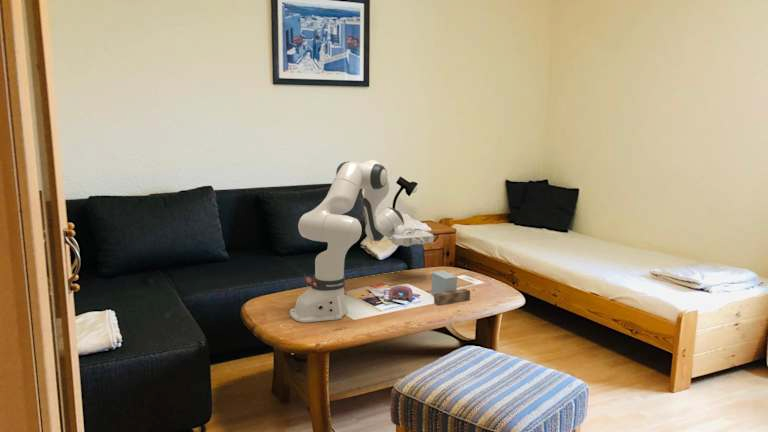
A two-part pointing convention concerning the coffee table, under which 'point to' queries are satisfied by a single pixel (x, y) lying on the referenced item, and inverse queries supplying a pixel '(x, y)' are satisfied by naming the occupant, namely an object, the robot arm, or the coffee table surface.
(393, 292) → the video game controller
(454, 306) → the coffee table surface
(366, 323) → the coffee table surface
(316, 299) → the robot arm
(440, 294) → the board
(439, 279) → the block
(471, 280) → the photo frame
